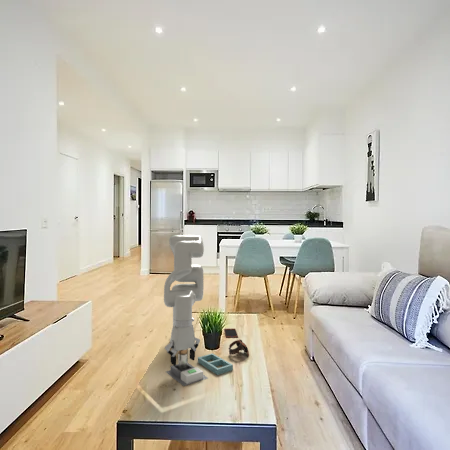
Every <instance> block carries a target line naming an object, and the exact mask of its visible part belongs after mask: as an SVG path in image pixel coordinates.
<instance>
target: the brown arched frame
mask: <svg viewBox="0 0 450 450" xmlns="http://www.w3.org/2000/svg"><path fill="white" fill-rule="evenodd" d="M234 345H236V347H235V348H233V346H234ZM228 346H229V347H228V350H229V351H228V353H229V356H231V355H237V354H238V355H240V351H243V353H244V354H247V357H248V358H249V357H250V353H249V349H248V346H247V345H246V344H245V343H244V342H243V340H242V339H237V340H234V341H232V342H231V343H230V344H229V345H228Z"/></svg>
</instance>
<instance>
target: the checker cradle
mask: <svg viewBox="0 0 450 450" xmlns="http://www.w3.org/2000/svg"><path fill="white" fill-rule="evenodd" d="M169 368H170V370H167V371H165V373H166V374H168V375H169V376H170V377H171V378H173V379H174V380H175V381H176V382H177V383H179V384H181V386H183V387H186V386H188V385H192V384H196V383H198V382H201V381H203V380H208V379H209V377H208V376H206V375H205V374H204V371H203V370H201V369H200V368H199V367H197V366H196V367H195V366H193V365H192V364H190V362H189V363H188V369H186V370H183V371H180V370H178V363H176V366H174V365H170V367H169Z"/></svg>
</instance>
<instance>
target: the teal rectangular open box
mask: <svg viewBox="0 0 450 450" xmlns="http://www.w3.org/2000/svg"><path fill="white" fill-rule="evenodd" d="M211 360H212V361H211ZM197 363H198V364H200V365H201V366H203V367H204V368H206V369H207V370H209V371H210V372H212V373H213V374H215V375H217V376H219V375H221V374H225V373H229V372H231V371H233V370H234V365H233V364H232V363H231V362H229V361H227V360H225V359H224V358H222V357H220V356H218V355H217V354H214V353H212V352H211V353H208V354H205V355H202V356H198V357H197ZM219 366H222V367H219Z"/></svg>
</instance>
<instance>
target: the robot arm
mask: <svg viewBox="0 0 450 450" xmlns="http://www.w3.org/2000/svg"><path fill="white" fill-rule="evenodd" d="M168 242H169V247H170V250H171V252H172V254H173V271H172V272H171V273H169V275H168V276H167V277H166V280H165V282H164V286H163V287H164V288H163V303H164V305H165V306H166V307H167V308H172V328H171V333H170V334H171V335H170V339H169V343H168V344H167V345H165V346H164V349H165V351H166V353H167V354H169V355H170V364H171V366H173V365H174V366H176V364H177V356H176V354H178V351H180V350H184V349H188V350H189V359H190V360H192V361H196V360H195V358H196V351H197V348H198V347H199V344H200V342H201V339H200V338H197V337H196V336H195V330H194V329H195V328H194V325H193V322H195V319H194V317H193V306H194V304H195V303H196V302H200V301H202V300H203V298H204V269H203V266H202V265H201V264H192V263H193V262H192V258H193V259H194V258H198V259H199V258H202V257H203V255H204V251H205V249H204V247H205V245H204V242H203V238H202V236H201V235H197V234H175V235H171V236H170V237H169V239H168ZM174 282H178V284H174V285H173V286H172V284H173V283H174ZM171 286H172V287H171ZM170 349H171V350H170Z"/></svg>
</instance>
